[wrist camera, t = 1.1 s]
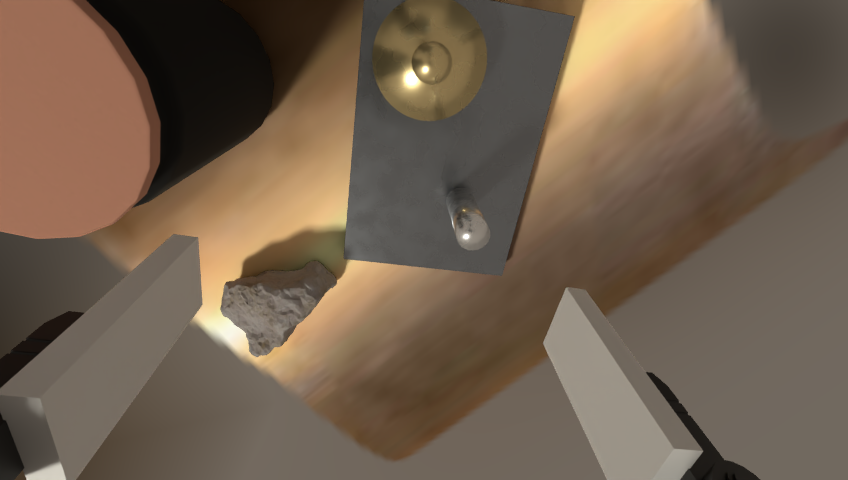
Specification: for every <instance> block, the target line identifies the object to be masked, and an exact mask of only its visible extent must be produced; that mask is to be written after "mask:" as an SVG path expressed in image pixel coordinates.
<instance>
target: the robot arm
mask: <svg viewBox="0 0 848 480" xmlns="http://www.w3.org/2000/svg"><path fill="white" fill-rule="evenodd" d="M201 306H202V290H201V274H200V259H199V243H198V237H191V236H184V235H177V234H173V235H172V236H171V237H170V238H169V239H167V240H166V241H165V242H164V243H163V244H162V245H161V246H160V247H158V248H157V249H156V250H155V251H154V252H153V253H152V254H151V255H149V256H148V257H147V258H146V259H145V260H144V261H143V262H142V263H140V264H139V265H138V266H137V267H136V268H135V269H134V270H133V271H131V272H130V273H129V274H128V275H127V276H126V277H125V278H124V279H123V280H121V281H120V282H119V283H118V284H117V285H116V286H115V287H114V288H112V289H111V290H110V291H109V292H108V293H107V294H106V295H105V296H103V297H102V298H101V299H100V300H99V301H98V302H97V303H96V304H94V305H93V306H92V307H91V308H90V309H89V310H88V311H87V312H85V313H81V312H71V311H68V312H66V313H64V314H62V315H60V316H58V317H56V318H54V319H52V320H50V321H48V322H46V323H44V324H43V325H42V326H40V327H39V328H38V329H37V330H35V331H34V332H33V333H32V334H31V335H29V336H28V337H27V338H26V341H22V342H21V343H20V344H18V345H17V346H16V347H15V348H13V349H12V350H11V353H10V354H6V355H5V356H4V357H2V358H1V359H0V480H14V479H15V478H16V477H17V476H18V475H19V473H20V472H21V471H22V470H23V471H24V473H25V476H26V479H27V480H76V479H77V477H78V476H79V475H80V473H81V472H82V470H83V469H84V467H85V466H86V465H87V464H88V462H89V461H90V459H91V458H92V457H93V455H94V454H95V452H96V451H97V450H98V448H99V447H100V446H101V444H102V443H103V441H104V440H105V439H106V437H107V436H108V434H109V433H110V432H111V430H112V429H113V427H114V426H115V425H116V423H117V422H118V421H119V419H120V418H121V417H122V415H123V414H124V412H125V411H126V410H127V408H128V407H129V405H130V404H131V403H132V401H133V400H134V399H135V397H136V396H137V394H138V393H139V392H140V390H141V389H142V387H143V386H144V385H145V383H146V382H147V381H148V379H149V378H150V376H151V375H152V374H153V372H154V371H155V369H156V368H157V367H158V365H159V364H160V363H161V361H162V360H163V358H164V357H165V355H166V354H167V353H168V351H169V350H170V349H171V347H172V346H173V345H174V343H175V342H176V340H177V339H178V338H179V336H180V335H181V333H182V332H183V331H184V329H185V328H186V327H187V325H188V324H189V322H190V321H191V320H192V318H193V317H194V316H195V314H196V313H197V311H198V310H199V309H200V307H201ZM543 344H544V346H545V349H546V351H547V353H548V355H549V357H550V359H551V361H552V363H553V365H554V368H555V370H556V372H557V374H558V376H559V378H560V380H561V383H562V385H563V387H564V389H565V391H566V393H567V395H568V397H569V399H570V402H571V404H572V406H573V408H574V410H575V412H576V414H577V417H578V419H579V421H580V423H581V425H582V427H583V429H584V432H585V434H586V436H587V438H588V440H589V442H590V444H591V446H592V449H593V451H594V453H595V455H596V457H597V459H598V461H599V463H600V466H601V468H602V470H603V472H604V474H605V476H606V478H607V480H760V479H759V478H758V477H757V476H756V475H754V474H753V473H751V472H750V471H749V470H747V469H746V468H744V467H743V466H740V465H738V464H736V463H734V462H731V461H726V460H724V459H723V458H722V456H721V455H720V454H719V452H718V451H717V450H716V448H715V447H714V446H713V445H712V443H711V442H710V441H709V439H708V438H707V437H706V436H705V434H704V433H703V431H702V430H701V429H700V428H699V426H698V425H697V424H696V422H695V421H694V420H693V419H692V418H691V416H689V415H688V412H687V411H686V409H685V408H684V407H683V405H682V404H680V403H679V401H678V399H677V398H676V396H675V395H674V394H673V392H672V391H671V390H670V389H669V387H668V386H667V385H666V384H665V383H663V382H662V381H661V380H660V379H659V378H658V377H656V376H655V375H654V374H653V373H648V372H645V371H644V369H643V368H642V367H641V365H640V364H639V363H638V361H637V360H636V358H635V357H634V356H633V354H632V353H631V352H630V350H629V349H628V348H627V346H626V345H625V343H624V342H623V341H622V340H621V338H620V337H619V335H618V334H617V333H616V331H615V330H614V328H613V327H612V326H611V324H610V323H609V322H608V320H607V319H606V318H605V316H604V315H603V313H602V312H601V311H600V309H599V308H598V307H597V305H596V304H595V303H594V301H593V300H592V298H591V297H590V296H589V294H588V293H587V292H586V290H582V289H575V288H568V287H566V289H565V292H564V294H563V297H562V299H561V301H560V304H559V306H558V309H557V311H556V313H555V316H554V318H553V321H552V323H551V325H550V328H549V330H548V333H547V335H546V338H545V340H544V342H543Z"/></svg>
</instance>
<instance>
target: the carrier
mask: <svg viewBox="0 0 848 480" xmlns="http://www.w3.org/2000/svg"><path fill="white" fill-rule="evenodd" d="M574 17H575V16H570V15H565V14H559V13H554V12H549V11H544V10H538V9H533V8H528V7H523V6H518V5H512V4H507V3H502V2H497V1H491V0H364V8H363V21H362V33H361V46H360V59H359V71H358V84H357V97H356V109H355V122H354V135H353V147H352V160H351V173H350V185H349V198H348V211H347V223H346V236H345V249H344V259H351V260H360V261H369V262H379V263H388V264H397V265H406V266H416V267H425V268H434V269H444V270H453V271H462V272H472V273H481V274H490V275H500V276H502V274H503V270H504V266H505V263H506V259H507V256H508V252H509V249H510V245H511V242H512V238H513V234H514V231H515V227H516V224H517V220H518V217H519V213H520V209H521V206H522V202H523V199H524V195H525V192H526V188H527V184H528V181H529V177H530V174H531V170H532V167H533V163H534V160H535V156H536V152H537V149H538V145H539V142H540V138H541V135H542V131H543V127H544V124H545V120H546V117H547V113H548V110H549V106H550V103H551V99H552V95H553V92H554V88H555V85H556V81H557V78H558V74H559V70H560V67H561V63H562V60H563V56H564V53H565V49H566V45H567V42H568V38H569V35H570V31H571V28H572V24H573V21H574Z"/></svg>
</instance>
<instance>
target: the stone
mask: <svg viewBox="0 0 848 480" xmlns="http://www.w3.org/2000/svg"><path fill="white" fill-rule="evenodd" d="M336 284H337V280H336V277H335V276H334V275H333V274H332V273H331V272H329V271H328V270H327V269H326V268H325V267H324V265H323V264H320V262H318V261H312V262H308V263H307V264H306V265H305V267H304V268H302V269H300V270H296V271H292V270H290V271H274V270H270V271H264V272H262V273H261V274H259V275H257V277H254V276H253V277H252V276H250V277H244V278H239V279H236V280H235V281H229V282H226V284H225V286H224V292H223V297H222V304H221V308H220V309H221V312H222V314H223V316H224V317H228V318H229V319H230V320H231V321H232V322H233V323H234V324H235V325H236V326H238V327H239V328H241V329H242V330H243V331H244V332H245V333H246V337H247V339H248V341H249V351H250V352H251V354H252V355H254V356H256V357H258V356H260V355H267V354H269V353H270V352H271V350H272V349H273V348H274V347H280V346H282V345H283V344H284V342H285V341H287V339H288V337H289V336H290V335H291V334H292V333H293V331H294V329H295V328H296V325H297V324H299V323H300V322H302V321H303V320H304V319H305V318H306V317H307V316H308V315H309V314H310V313H311V312H312V310H313V309H314V308H315V307H316V306H317V304H318V303H319V301H320V300H321V298H322V297H323V296H324V294H325V293H326V292H327V291H328V290H329V289H330V288H333V287H334V286H335V285H336Z"/></svg>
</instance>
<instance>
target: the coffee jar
mask: <svg viewBox="0 0 848 480" xmlns="http://www.w3.org/2000/svg"><path fill="white" fill-rule="evenodd" d="M273 87H274V82H273V76H272V71H271V65H270V60H269V58H268V56H267V54H266V52H265V50H264V47H263V45H262V43H261V41H260V39H259V37H258V35H257V34H256V33H255V32H254V31H253V30H252V28H251V27H250V26H249V25H248V24H247V23H246V21H245V20H244V19H243V18H242V17H241V16H240V14H238V13H237V12H235V11H234V10H232V9H231V8H229V7H228V6H226V5H225V4H224V3H222V2H221V1H219V0H0V231H2V232H6V233H11V234H16V235H21V236H26V237H31V238H36V239H42V238H65V237H80V236H83V235H85V234H88V233H91V232H93V231H96V230H99V229H101V228H104V227H106V226H109V225H112V224H114V223H115V222H117V221H118V220H119V219H120V218H121V217H122V216H124V215H125V214H126V213H127V212H128V211H129V210H130V209H131V208H133V207H136V206H139V205H141V204H144V203H147V202H149V201H151V200H152V199H154V198H155V197H157V196H158V195H160V194H162V193H163V192H165V191H166V190H168V189H169V188H171V187H172V186H174V185H175V184H177V183H179V182H180V181H182V180H183V179H185V178H186V177H188V176H189V175H191V174H193V173H194V172H196V171H197V170H199V169H200V168H202V167H203V166H205V165H207V164H208V163H210V162H211V161H213V160H214V159H216V158H217V157H219V156H220V155H222V154H224V153H225V152H227V151H228V150H230V149H231V148H233V147H234V146H236V145H238V144H239V143H241V142H242V141H244V140H245V139H247V138H248V137H249V136H250V135H251V134H252V133H254V132H255V131H256V130H257V129H258V128H259V127H260V126H261V125H262V124H263V122H264V120H265V118H266V116H267V114H268V112H269V110H270V108H271V103H272V95H273Z"/></svg>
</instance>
